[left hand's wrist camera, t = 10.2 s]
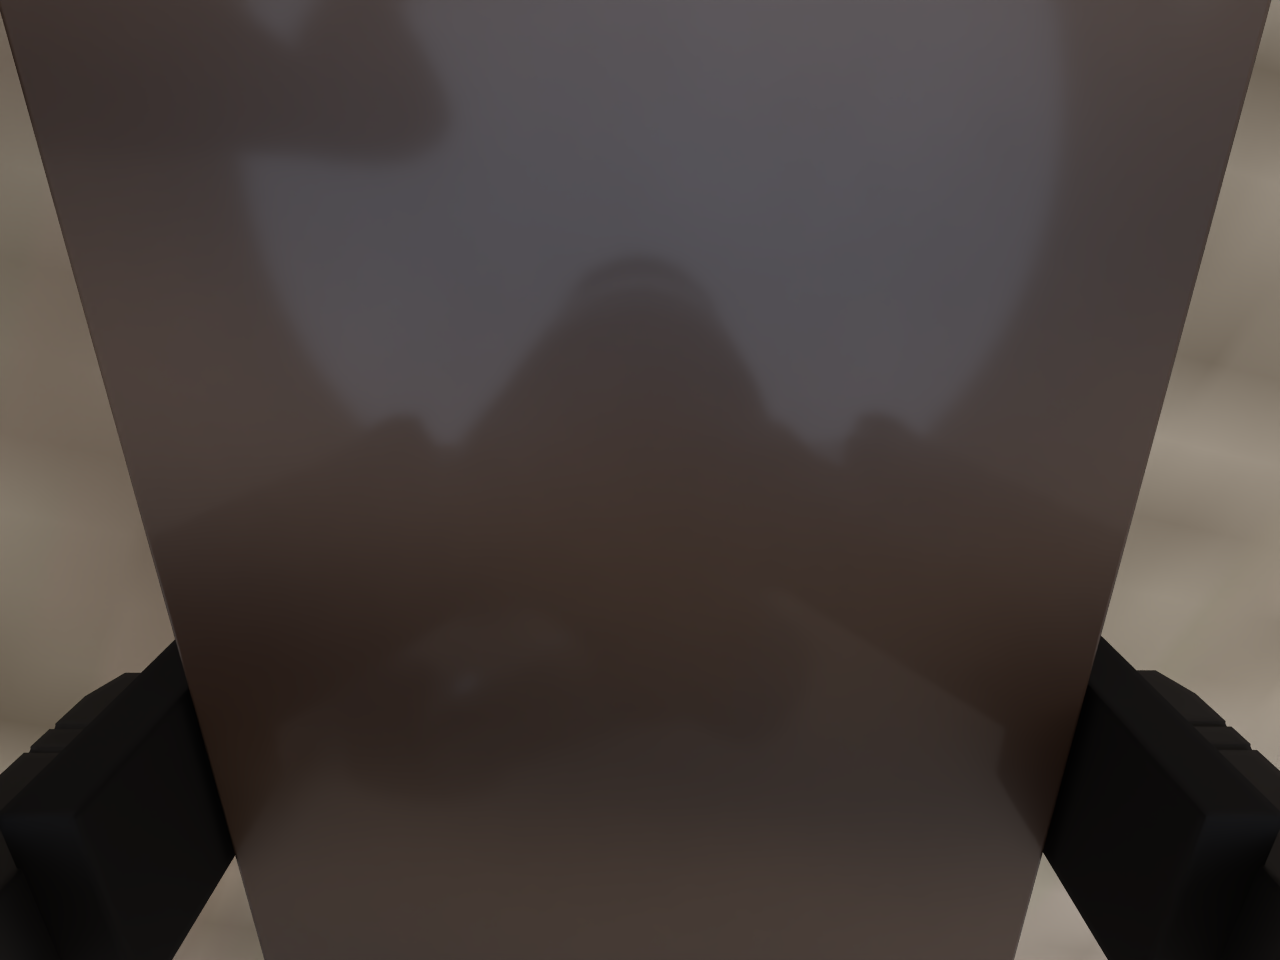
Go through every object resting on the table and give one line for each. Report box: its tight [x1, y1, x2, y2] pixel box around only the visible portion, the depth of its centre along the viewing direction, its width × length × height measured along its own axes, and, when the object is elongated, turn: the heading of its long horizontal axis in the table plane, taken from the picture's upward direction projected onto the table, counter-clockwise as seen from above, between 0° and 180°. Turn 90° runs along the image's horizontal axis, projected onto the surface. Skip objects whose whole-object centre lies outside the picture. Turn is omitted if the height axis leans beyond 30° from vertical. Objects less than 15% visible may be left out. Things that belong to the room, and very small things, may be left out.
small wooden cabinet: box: [0, 0, 1271, 960], centre depth 12 cm, size 20×10×12 cm, turn 0°
